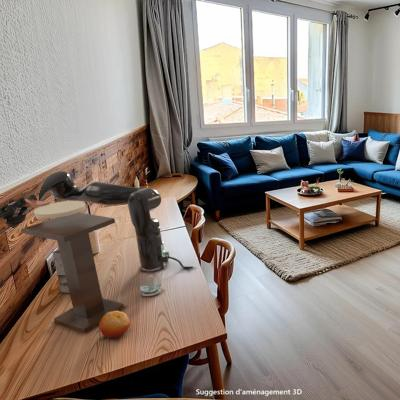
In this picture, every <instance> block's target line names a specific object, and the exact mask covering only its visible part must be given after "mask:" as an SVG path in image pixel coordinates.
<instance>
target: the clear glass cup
mask: <svg viewBox="0 0 400 400" xmlns="http://www.w3.org/2000/svg"><path fill="white" fill-rule="evenodd" d="M155 281H156V279H155V276H154V275H147V276H146V277H145V283H146V284H147V285H141V286H139V289H140V291H141V296H143V297H153V296H157V295H158V294H160V293H161V292H162V290H161V289H160V288H161V287H162V286H163V284H162V282H159V283H158V282H157V283H156V284H155Z"/></svg>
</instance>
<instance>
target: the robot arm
mask: <svg viewBox="0 0 400 400" xmlns="http://www.w3.org/2000/svg"><path fill="white" fill-rule="evenodd" d="M45 178H46V179H45ZM45 178H44V179H45V181H44V183H43V185H42V187H41V190H40V193H39V201H43V199H44V197H45V196H46V194H48V193H49V192H50V193H51V195H52V196H53V197H54V198H55V199H57V200H61V201H82V202H84V203H92V204H96V205H102V206H123V205H127V209H128V213H129V216H130V221H131V224H132V226H133V227H134V231H135V238H136V244H137V250H138V256H139V257H138V258H139V263H140V270H142V272H147V273H151V272H152V273H153V272H157V271H160V270H163V269H165V266H166V264H167V263H169V259H170V260H173V261H176V262H177V263H178V264H179V265H180V267H181V268H182V269H185V270H189V269H194V266H184V265H183V263H182V262H181V261H180V260H179V259H178V258H175V257H173V256H170V251H166V250H165V245H164V244H165V243H164V241H163V239H162V231H161V226H160V221H159V220H158V219H157V218H154V217H152V216H151V213H150V212H152V211H154V210H156V209H157V208H159V206H160V205H161V203H162V197H161V194H160V192H158V191H157V190H156V189H153V188H151V187H135V186H127V185H122V184H116V183H110V182H103V181H93V182H90V183H88V184H87V185H86V186H84V187H79V186H77V185H76V184H75V182H74V180H73V178H72V176H71V175H70V174H69V173H68V171H66V170H57V171H55V172H52V173H49V175H47V176H46V177H45ZM24 197H25V196H21V197H19V198H18V199H17V200H16V201H13V202H11V203H10V204H9V203H5V204H6V205H5V204H3V205H4V206H3V205H2V206H3V207H1V206H0V207H1V208H0V218H1V217H2V218H4V219H5V218H6V219H7V222H6V224H7V225H8V226H9V227H12V228H15V227H17V226H18V225H19V224H20V223H22V222H23V221H24V220H25V218H26V213H27V212H28V211H30V209H31V207H26V206H24V205H25V204H26V200H25V199H24ZM27 199H31V200H37V198H36V196H35V195H34V194H33V195H30V196H29V197H28V198H27ZM5 208H7V209H5Z"/></svg>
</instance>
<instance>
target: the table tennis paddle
mask: <svg viewBox="0 0 400 400" xmlns="http://www.w3.org/2000/svg"><path fill="white" fill-rule="evenodd" d="M25 200H26V204H25V205H24V206H26V207H31V208H36V209H35V210H34V211H33V213H34V215H33V216H34V217H35V218H37V219H54V218H58V217H64V216H68V215H72V214H76V213H82V212H83V211H85V209H86V208H87V205H86V202H84V201H74V200H63V201H57V202H51V203H50V202H49V201H48V202H47V201H43V200H41V201H37V200H31V199H25Z"/></svg>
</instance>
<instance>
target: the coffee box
mask: <svg viewBox="0 0 400 400" xmlns="http://www.w3.org/2000/svg"><path fill="white" fill-rule="evenodd" d="M51 253H52V257H53V261H54V262H53V263H54V266H55V270H56V275H57V280H58V284H59V287H60V292H61V293H66V294H70V293H69V289H68V284H67V280H66V276H65V272H64V268H63V263H62V259H61V255H60V251H59V248H58V249H56V250H54V251H52V252H51Z"/></svg>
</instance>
